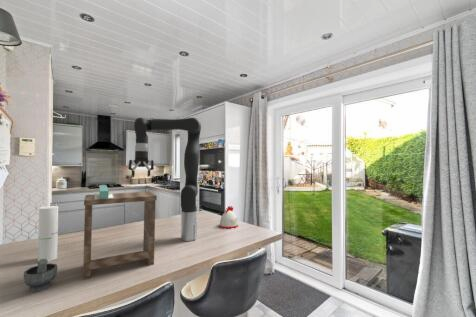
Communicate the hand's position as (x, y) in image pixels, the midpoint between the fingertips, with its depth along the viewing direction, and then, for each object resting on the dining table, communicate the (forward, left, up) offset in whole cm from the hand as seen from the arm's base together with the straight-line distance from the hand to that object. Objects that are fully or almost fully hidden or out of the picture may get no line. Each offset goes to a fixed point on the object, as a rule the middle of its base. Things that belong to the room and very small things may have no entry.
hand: (141, 176), depth 141 cm
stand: (-5, +36, -38) cm, 53 cm away
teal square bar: (+4, +35, -6) cm, 36 cm away
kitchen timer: (-55, -28, -38) cm, 73 cm away
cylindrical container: (+32, +30, -38) cm, 58 cm away
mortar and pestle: (+15, +55, -38) cm, 69 cm away
